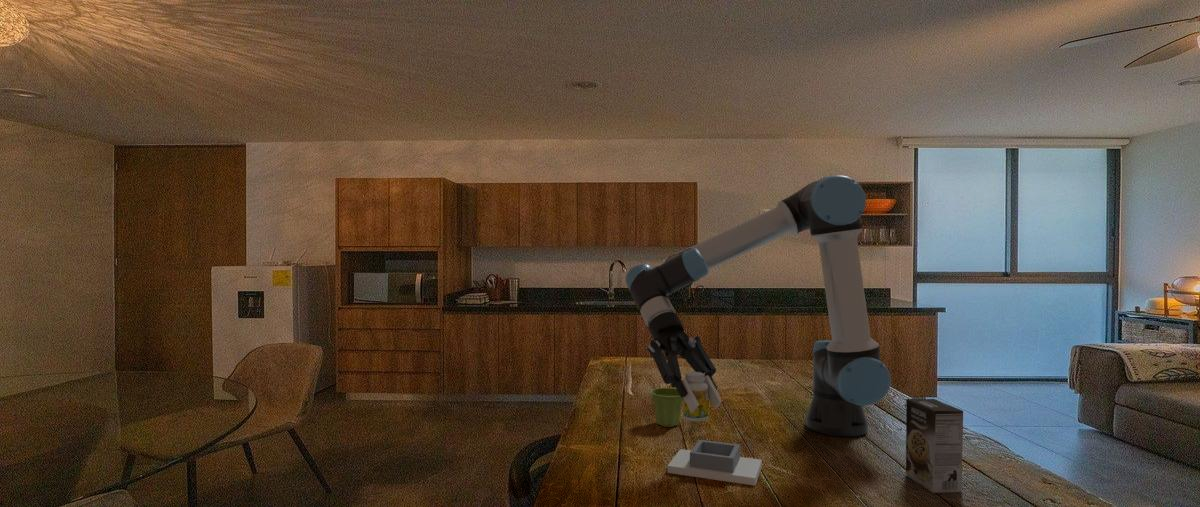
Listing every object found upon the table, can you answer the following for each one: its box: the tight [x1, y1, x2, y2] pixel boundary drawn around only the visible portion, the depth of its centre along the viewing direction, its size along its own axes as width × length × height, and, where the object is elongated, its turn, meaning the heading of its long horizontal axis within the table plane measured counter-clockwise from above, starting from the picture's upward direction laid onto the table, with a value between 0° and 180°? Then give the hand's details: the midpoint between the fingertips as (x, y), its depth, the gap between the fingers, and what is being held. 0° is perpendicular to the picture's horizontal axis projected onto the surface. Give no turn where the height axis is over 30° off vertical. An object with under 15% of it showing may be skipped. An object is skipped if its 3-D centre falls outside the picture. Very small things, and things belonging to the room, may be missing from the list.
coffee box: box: [905, 397, 964, 494], centre depth 119 cm, size 9×6×16 cm
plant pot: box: [650, 387, 683, 428], centre depth 159 cm, size 9×9×9 cm
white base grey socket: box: [667, 439, 763, 487], centre depth 126 cm, size 18×11×4 cm, turn 68°
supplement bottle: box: [682, 371, 710, 422], centre depth 127 cm, size 5×5×10 cm
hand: (706, 406), depth 124 cm, fingers closed on supplement bottle, 5 cm apart
